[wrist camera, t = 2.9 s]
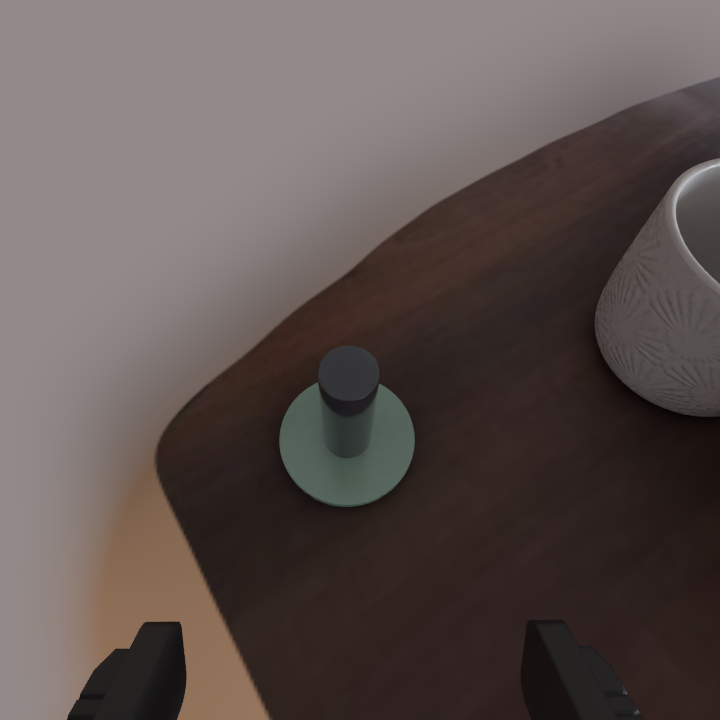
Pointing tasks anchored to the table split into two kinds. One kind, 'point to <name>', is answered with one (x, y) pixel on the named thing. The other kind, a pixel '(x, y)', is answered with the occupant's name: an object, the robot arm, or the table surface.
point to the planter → (670, 301)
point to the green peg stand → (347, 433)
